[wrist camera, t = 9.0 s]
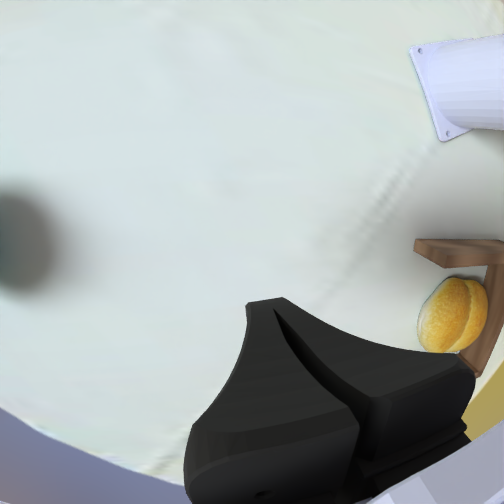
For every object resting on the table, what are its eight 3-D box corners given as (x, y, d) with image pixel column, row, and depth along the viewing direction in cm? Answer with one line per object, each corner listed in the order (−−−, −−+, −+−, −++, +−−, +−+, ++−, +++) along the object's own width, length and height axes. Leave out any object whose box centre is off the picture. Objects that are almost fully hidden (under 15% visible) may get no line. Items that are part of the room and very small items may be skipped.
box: (378, 382, 28) (396, 408, 25) (415, 239, 23) (446, 255, 20) (461, 358, 31) (480, 376, 27) (498, 239, 26) (525, 252, 22)
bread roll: (430, 271, 25) (458, 289, 21) (481, 278, 27) (506, 293, 24) (399, 349, 28) (421, 372, 24) (454, 344, 30) (475, 362, 26)
